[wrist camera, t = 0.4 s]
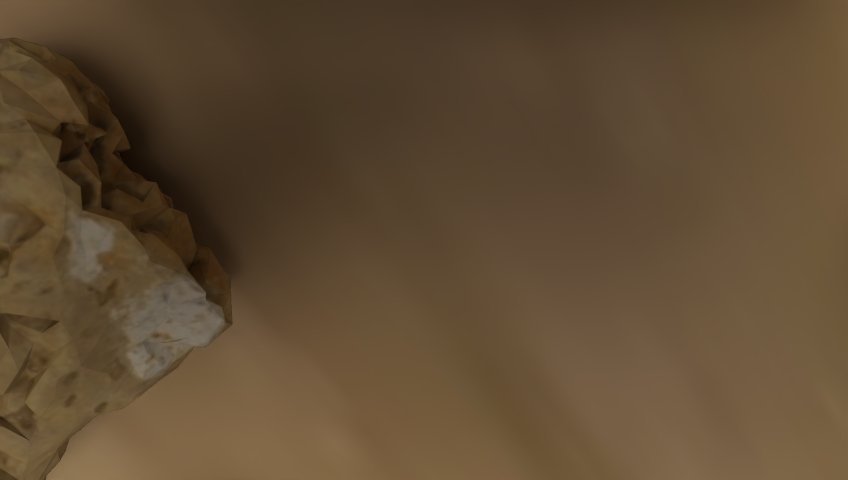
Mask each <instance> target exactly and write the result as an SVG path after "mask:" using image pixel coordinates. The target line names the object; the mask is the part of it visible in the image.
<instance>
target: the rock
mask: <svg viewBox="0 0 848 480" xmlns="http://www.w3.org/2000/svg"><path fill="white" fill-rule="evenodd" d="M108 103H109V99H108V97H107V96H106V94H105V93H104V91H103V90H102V89H101V88H99V87H98V86H97V85H96V84H94V83H93V82H92V81H91V80H89V79H88V78H87V77H85V76H84V75H83V74H81V72H80V71H79V70H78V68H77V67H76V66H75V64H74V63H73V62H72V61H71V60H69V59H67V58H65V57H63V56H61V55H59V54H57V53H55V52H53V51H52V50H50V49H48V48H46V47H43V46H40V45H37V44H34V43H30V42H27V41H23V40H19V39H16V38H7V39H1V40H0V480H46V476H47V475H48V474H49V472H50V471H51V470H52V469H53V468H54V467H55V466H56V465H57V463H58V462H59V461H60V460H61V458H62V456H63V454H64V453H65V451H66V447H67V444H68V441H69V438H70V437H72V436H73V435H74V434H75V433H76V432H78V431H79V430H80V429H81V428H82V427H84V426H85V425H86V424H87V423H88V422H90V421H91V420H92V419H93V418H94V417H96V416H97V415H99V414H102V413H106V412H110V411H114V410H118V409H121V408H124V407H125V406H127V405H128V404H130V403H131V402H133V401H134V400H136V399H137V398H138V397H139V396H141V395H142V394H143V393H144V392H146V391H147V390H148V389H149V388H151V387H152V386H153V385H154V384H156V383H157V382H158V381H159V380H161V379H162V378H163V377H165V376H166V375H168V374H169V373H170V372H172V371H173V370H175V369H176V368H177V367H178V366H179V365H180V364H181V362H182V361H183V360H184V359H185V358H186V356H187V355H188V354H189V353H190V351H191V350H192V349H193V348H194V346H195V347H206V346H207V345H208V344H209V343H211V342H212V341H213V340H214V339H215V338H217V337H218V336H219V335H220V334H221V333H223V332H224V331H225V330H226V329H227V328H229V327H230V326H231V325H232V310H231V280H230V276H229V275H228V274H227V273H225V272H224V270H223V269H222V267H221V265H220V264H219V262H218V260H217V259H216V257H215V256H214V254H213V252H212V251H211V249H210V248H209V247H207V246H203V245H200V244H196V243H195V240H194V237H193V234H192V229H191V226H190V223H189V220H188V217H187V214H186V213H184V212H181V211H178V210H175V209H173V204H172V199H171V198H170V197H168V196H166V195H164V194H162V193H161V191H160V189H159V187H158V185H157V183H156V182H148V181H146V180H145V179H144V178H143V177H142V176H141V175H140V174H139V173H137V172H131V171H130V170H129V169H128V168H127V166H126V165H125V164H124V163H123V160H122V158H121V156H120V154H119V152H126V151H127V150H129V149H130V148H131V147H130V145H129V142H128V139H127V137H126V135H125V133H124V131H123V129H122V127H121V125H120V123H119V121H118V119H117V118H116V117H115V116H114V115H113V114H112V113H111V110H110V107H109V104H108Z"/></svg>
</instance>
